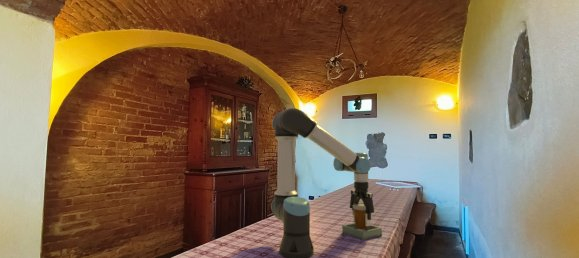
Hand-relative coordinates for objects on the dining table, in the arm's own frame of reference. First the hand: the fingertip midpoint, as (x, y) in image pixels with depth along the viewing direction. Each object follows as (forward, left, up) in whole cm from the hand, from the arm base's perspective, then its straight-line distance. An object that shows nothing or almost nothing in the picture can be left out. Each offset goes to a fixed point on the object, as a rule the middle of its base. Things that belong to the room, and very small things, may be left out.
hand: (361, 223), depth 157 cm
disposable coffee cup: (0, 0, -2) cm, 2 cm away
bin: (0, 0, -5) cm, 5 cm away
